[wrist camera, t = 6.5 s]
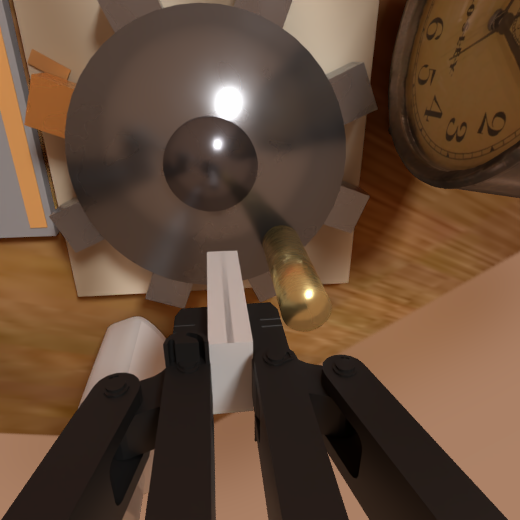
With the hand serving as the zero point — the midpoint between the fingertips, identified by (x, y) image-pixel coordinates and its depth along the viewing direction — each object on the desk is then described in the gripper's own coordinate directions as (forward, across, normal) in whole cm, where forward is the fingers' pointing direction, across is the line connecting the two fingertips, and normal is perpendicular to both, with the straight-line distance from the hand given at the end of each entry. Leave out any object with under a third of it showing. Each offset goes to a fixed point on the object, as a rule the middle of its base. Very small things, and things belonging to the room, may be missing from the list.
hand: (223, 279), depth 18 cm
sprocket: (+4, 0, +5) cm, 6 cm away
